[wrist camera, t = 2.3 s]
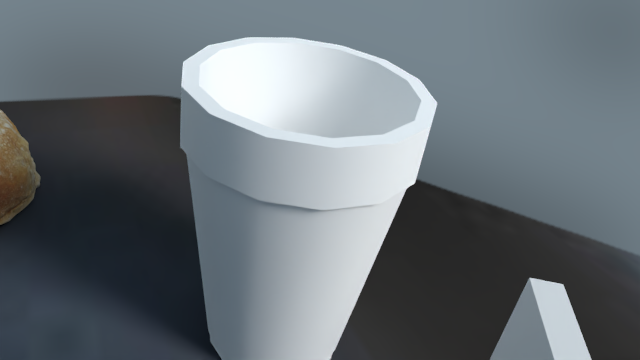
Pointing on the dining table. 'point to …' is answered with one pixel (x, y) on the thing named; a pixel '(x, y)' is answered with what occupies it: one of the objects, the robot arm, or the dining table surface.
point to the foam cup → (294, 185)
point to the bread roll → (15, 171)
